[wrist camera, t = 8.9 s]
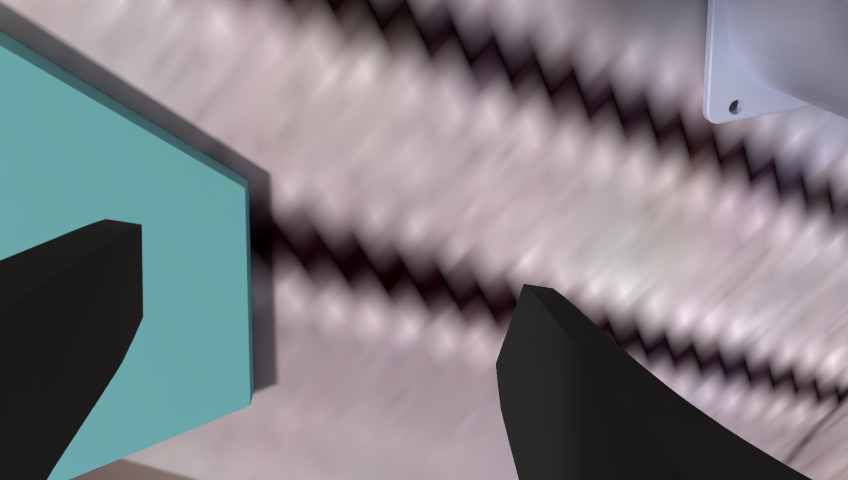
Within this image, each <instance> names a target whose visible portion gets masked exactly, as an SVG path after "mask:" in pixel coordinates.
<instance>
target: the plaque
mask: <svg viewBox="0 0 848 480" xmlns="http://www.w3.org/2000/svg"><path fill="white" fill-rule="evenodd" d="M104 219H110V220H116V221H123V222H129V223H136V224H142V267H143V319H142V321H141V323H140V326H139V328H138V330H137V332H136V335H135V337H134V339H133V341H132V343H131V346H130V348H129V350H128V352H127V354H126V356H125V358H124V360H123V362H122V364H121V366H120V367H119V369H118V370H117V372H116V374H115V375H114V377H113V378H112V380H111V381H110V383H109V385H108V386H107V388H106V389H105V391H104V392H103V394H102V395H101V397H100V399H99V400H98V402H97V403H96V405H95V406H94V408H93V409H92V411H91V412H90V414H89V415H88V417H87V418H86V420H85V421H84V423H83V425H82V426H81V428H80V429H79V431H78V432H77V434H76V435H75V437H74V438H73V440H72V441H71V443H70V444H69V446H68V447H67V449H66V450H65V452H64V454H63V455H62V457H61V458H60V460H59V461H58V463H57V464H56V466H55V467H54V469H53V470H52V472H51V474H50V475H49V477H48V479H47V480H69V479H72V478H74V477H76V476H79V475H81V474H84V473H86V472H89V471H91V470H94V469H96V468H98V467H101V466H103V465H106V464H108V463H111V462H113V461H115V460H118V459H120V458H123V457H125V456H128V455H130V454H133V453H135V452H137V451H140V450H142V449H145V448H147V447H150V446H152V445H154V444H157V443H159V442H162V441H164V440H167V439H169V438H172V437H174V436H176V435H179V434H181V433H184V432H186V431H189V430H191V429H193V428H196V427H198V426H201V425H203V424H206V423H208V422H211V421H213V420H215V419H218V418H220V417H223V416H225V415H228V414H230V413H232V412H235V411H237V410H240V409H242V408H245V407H247V406H250V404H251V400H252V396H253V392H254V368H253V330H252V291H251V252H250V214H249V180H247V179H246V178H244V177H242V176H241V175H239V174H237V173H236V172H234V171H232V170H231V169H229V168H227V167H226V166H224V165H222V164H221V163H219V162H217V161H216V160H214V159H212V158H211V157H209V156H207V155H206V154H204V153H202V152H201V151H199V150H197V149H196V148H194V147H192V146H191V145H189V144H187V143H186V142H184V141H182V140H181V139H179V138H177V137H176V136H174V135H172V134H171V133H169V132H167V131H166V130H164V129H162V128H161V127H159V126H157V125H156V124H154V123H152V122H151V121H149V120H147V119H146V118H144V117H142V116H141V115H139V114H137V113H136V112H134V111H132V110H131V109H129V108H127V107H126V106H124V105H122V104H121V103H119V102H117V101H116V100H114V99H112V98H111V97H109V96H107V95H106V94H104V93H102V92H101V91H99V90H97V89H96V88H94V87H92V86H91V85H89V84H87V83H86V82H84V81H82V80H81V79H79V78H77V77H76V76H74V75H72V74H71V73H69V72H67V71H66V70H64V69H62V68H61V67H59V66H57V65H56V64H54V63H52V62H51V61H49V60H47V59H46V58H44V57H42V56H41V55H39V54H37V53H36V52H34V51H32V50H31V49H29V48H27V47H26V46H24V45H22V44H21V43H19V42H17V41H16V40H14V39H13V38H11V37H9V36H8V35H6V34H4V33H3V32H1V31H0V260H2V259H5V258H7V257H10V256H12V255H15V254H17V253H20V252H22V251H25V250H27V249H29V248H32V247H34V246H37V245H39V244H42V243H44V242H47V241H49V240H51V239H54V238H56V237H59V236H61V235H64V234H66V233H68V232H71V231H73V230H76V229H78V228H81V227H84V226H86V225H89V224H91V223H94V222H97V221H101V220H104Z"/></svg>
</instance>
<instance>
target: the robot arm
mask: <svg viewBox="0 0 848 480" xmlns="http://www.w3.org/2000/svg"><path fill="white" fill-rule="evenodd" d="M737 99H738V105H737V107H736V108H735V109H734V110H732V111H730V112H729V107H730V104H731V103H732V102H733V101H735V100H737ZM811 105H815V106H817V107H820V108H822V109H825V110H827V111H830V112H832V113H835V114H837V115H840V116H842V117H845V118H847V119H848V0H708V14H707V34H706V54H705V73H704V93H703V115H704V117H705V118H706V119H707V120H709V121H711V122H713V123H715V124H720V123H725V122H731V121H736V120H741V119H746V118H751V117H756V116H761V115H766V114H771V113H776V112H781V111H786V110H791V109H796V108H801V107H806V106H811ZM142 319H143V267H142V224H136V223H129V222H123V221H116V220H110V219H104V220H101V221H97V222H94V223H91V224H89V225H86V226H84V227H81V228H78V229H76V230H73V231H71V232H68V233H66V234H64V235H61V236H59V237H56V238H54V239H51V240H49V241H47V242H44V243H42V244H39V245H37V246H34V247H32V248H29V249H27V250H25V251H22V252H20V253H17V254H15V255H12V256H10V257H7V258H5V259H2V260H0V480H47V479H48V477H49V475H50V474H51V472H52V470H53V469H54V467H55V466H56V464H57V463H58V461H59V460H60V458H61V457H62V455H63V454H64V452H65V450H66V449H67V447H68V446H69V444H70V443H71V441H72V440H73V438H74V437H75V435H76V434H77V432H78V431H79V429H80V428H81V426H82V425H83V423H84V421H85V420H86V418H87V417H88V415H89V414H90V412H91V411H92V409H93V408H94V406H95V405H96V403H97V402H98V400H99V399H100V397H101V395H102V394H103V392H104V391H105V389H106V388H107V386H108V385H109V383H110V381H111V380H112V378H113V377H114V375H115V374H116V372H117V370H118V369H119V367H120V366H121V364H122V362H123V360H124V358H125V356H126V354H127V352H128V350H129V348H130V346H131V343H132V341H133V339H134V337H135V335H136V332H137V330H138V328H139V326H140V323H141V321H142ZM496 369H497V380H498V390H499V397H500V405H501V411H502V415H503V419H504V423H505V427H506V431H507V435H508V439H509V443H510V447H511V451H512V455H513V458H514V462H515V466H516V470H517V474H518V478H519V480H812V479H810V478H808V477H806V476H805V475H803V474H801V473H799V472H797V471H796V470H794V469H792V468H790V467H788V466H787V465H785V464H783V463H781V462H780V461H778V460H777V459H775V458H773V457H772V456H770V455H768V454H767V453H765V452H763V451H762V450H760V449H758V448H757V447H755V446H753V445H752V444H750V443H748V442H747V441H745V440H743V439H742V438H740V437H739V436H737V435H736V434H734V433H733V432H731V431H729V430H728V429H726V428H725V427H723V426H722V425H720V424H719V423H718V422H716V421H715V420H713V419H712V418H710V417H709V416H708V415H706V414H705V413H703V412H702V411H700V410H699V409H698V408H696V407H695V406H693V405H692V404H690V403H689V402H688V401H686V400H685V399H684V398H682V397H681V396H680V395H678V394H677V393H676V392H674V391H673V390H672V389H670V388H669V387H668V386H667V385H665V384H664V383H663V382H662V381H660V380H659V379H658V378H657V377H655V376H654V375H653V374H652V373H650V372H649V371H648V370H647V369H645V368H644V367H643V366H642V365H641V364H639V363H638V362H637V361H636V360H635V359H634V358H632V357H631V356H630V355H629V354H628V353H627V352H625V351H624V350H623V349H622V348H621V347H620V346H619V345H617V344H616V343H615V342H614V341H613V340H612V339H611V338H610V337H608V336H607V335H606V334H605V333H604V332H603V331H602V330H601V329H600V328H599V327H597V326H596V325H595V324H594V323H593V322H592V321H591V320H590V319H589V318H588V317H586V316H585V315H584V314H583V313H582V312H581V311H580V310H579V309H578V308H576V307H575V306H574V305H573V304H572V303H571V302H570V301H568V300H567V299H566V298H565V297H564V296H562V295H561V294H560V293H558V292H557V291H556V290H554V289H553V288H546V287H540V286H534V285H527V284H524V285H523V288H522V291H521V294H520V297H519V299H518V302H517V305H516V308H515V311H514V314H513V316H512V319H511V322H510V325H509V328H508V331H507V334H506V336H505V339H504V342H503V345H502V348H501V351H500V354H499V356H498V359H497V362H496Z"/></svg>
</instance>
